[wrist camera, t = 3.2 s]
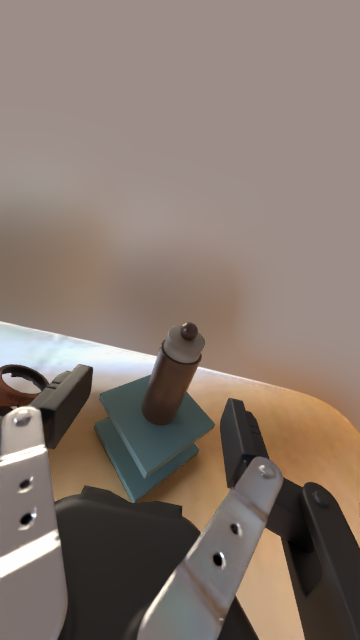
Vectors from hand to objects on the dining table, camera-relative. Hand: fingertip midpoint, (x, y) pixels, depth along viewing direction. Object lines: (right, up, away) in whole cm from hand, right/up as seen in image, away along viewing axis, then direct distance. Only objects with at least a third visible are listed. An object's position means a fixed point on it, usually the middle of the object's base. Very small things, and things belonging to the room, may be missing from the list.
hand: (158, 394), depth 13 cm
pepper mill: (-2, -8, +19) cm, 21 cm away
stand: (-4, -15, +23) cm, 28 cm away
